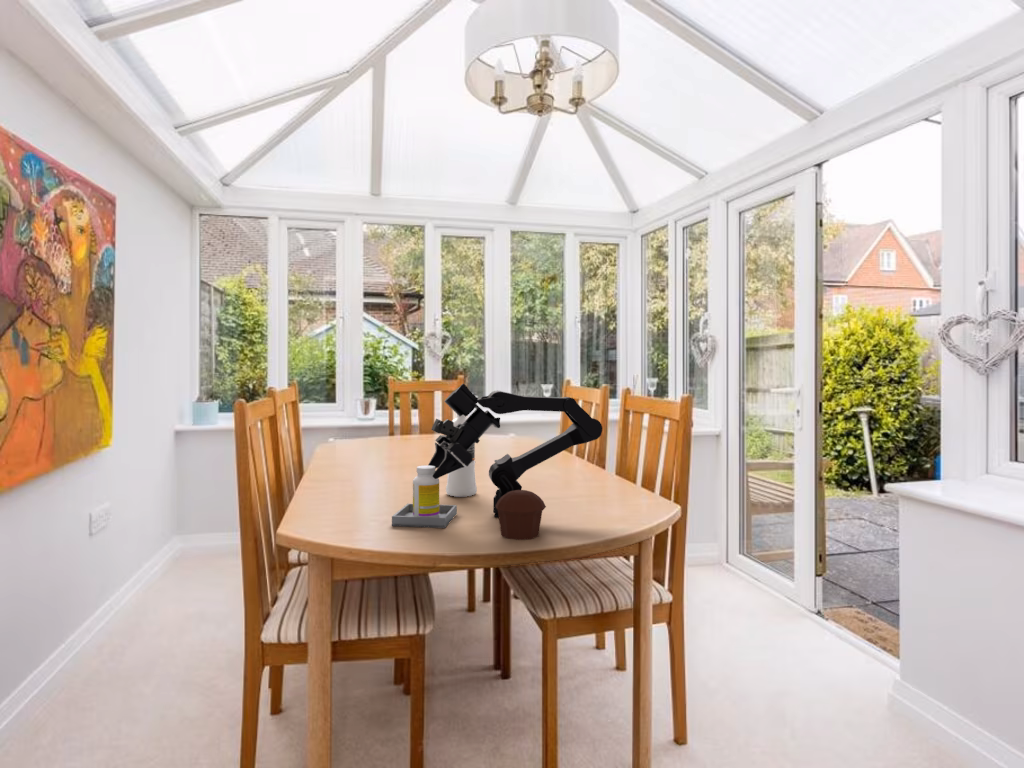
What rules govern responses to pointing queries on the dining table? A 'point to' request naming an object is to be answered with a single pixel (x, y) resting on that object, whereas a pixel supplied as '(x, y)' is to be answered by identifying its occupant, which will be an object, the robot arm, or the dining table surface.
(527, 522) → the muffin
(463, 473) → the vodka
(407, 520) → the tray
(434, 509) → the supplement bottle
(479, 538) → the dining table surface
